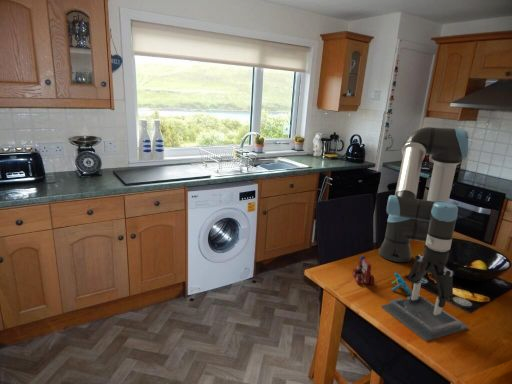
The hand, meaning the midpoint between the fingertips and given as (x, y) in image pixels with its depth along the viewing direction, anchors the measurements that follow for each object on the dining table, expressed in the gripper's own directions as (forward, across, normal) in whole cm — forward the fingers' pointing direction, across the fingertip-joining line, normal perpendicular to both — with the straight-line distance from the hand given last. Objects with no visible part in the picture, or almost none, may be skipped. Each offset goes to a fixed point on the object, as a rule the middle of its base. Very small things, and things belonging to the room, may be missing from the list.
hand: (425, 306), depth 121 cm
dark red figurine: (+5, -29, -3) cm, 30 cm away
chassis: (+5, 0, 0) cm, 5 cm away
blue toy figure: (+6, -15, +8) cm, 18 cm away
